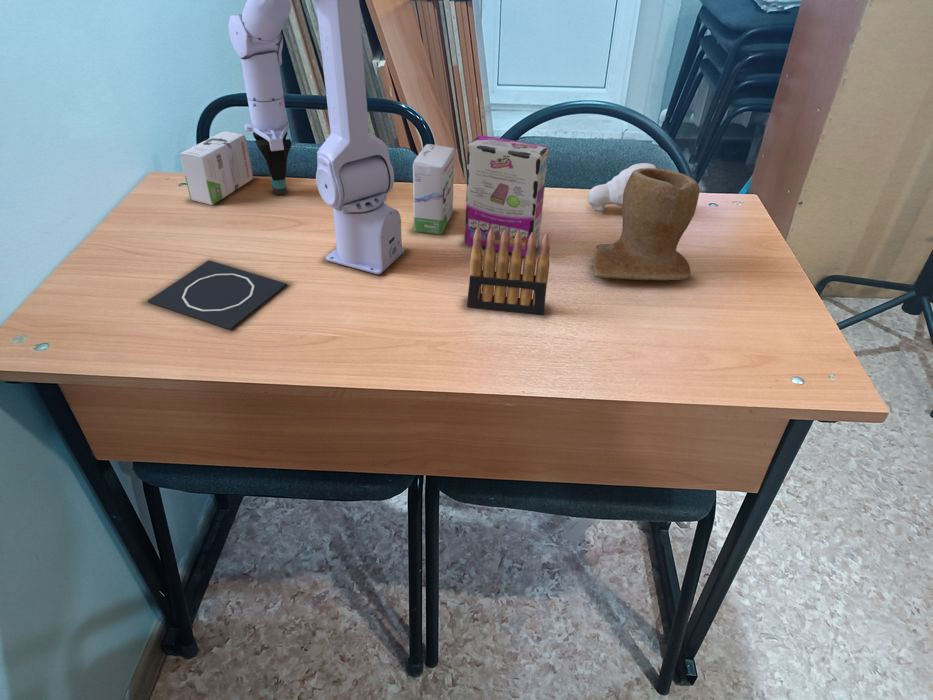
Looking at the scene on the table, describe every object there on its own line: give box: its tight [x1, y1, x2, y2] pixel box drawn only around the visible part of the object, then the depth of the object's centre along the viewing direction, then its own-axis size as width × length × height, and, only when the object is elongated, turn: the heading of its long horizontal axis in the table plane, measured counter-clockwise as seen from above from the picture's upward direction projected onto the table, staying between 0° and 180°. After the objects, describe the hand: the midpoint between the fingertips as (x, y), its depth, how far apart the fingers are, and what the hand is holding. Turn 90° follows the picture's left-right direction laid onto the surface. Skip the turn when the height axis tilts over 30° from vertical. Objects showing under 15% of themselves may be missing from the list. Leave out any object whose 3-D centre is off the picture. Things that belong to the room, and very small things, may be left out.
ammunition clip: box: [466, 227, 551, 316], centre depth 86 cm, size 11×2×12 cm, turn 83°
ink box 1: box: [179, 131, 254, 206], centre depth 113 cm, size 9×5×12 cm
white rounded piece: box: [587, 162, 657, 214], centre depth 112 cm, size 6×8×12 cm
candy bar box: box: [464, 134, 550, 258], centre depth 99 cm, size 11×5×16 cm, turn 68°
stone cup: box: [592, 168, 701, 281], centre depth 95 cm, size 15×12×15 cm
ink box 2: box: [412, 143, 455, 235], centre depth 105 cm, size 8×5×12 cm, turn 168°
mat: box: [147, 260, 288, 331], centre depth 90 cm, size 14×12×1 cm
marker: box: [269, 173, 288, 195], centre depth 112 cm, size 2×2×9 cm
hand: (277, 176), depth 113 cm, fingers closed on marker, 2 cm apart
